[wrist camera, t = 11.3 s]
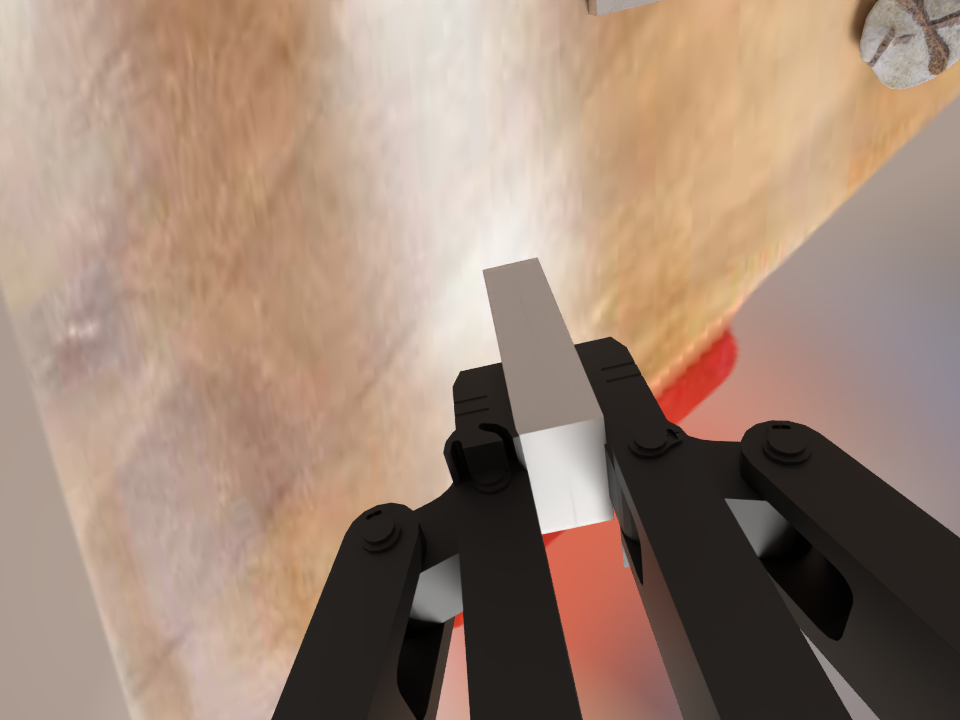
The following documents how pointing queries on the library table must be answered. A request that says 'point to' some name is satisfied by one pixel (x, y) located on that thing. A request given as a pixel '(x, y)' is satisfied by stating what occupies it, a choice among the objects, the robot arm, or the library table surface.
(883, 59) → the stone
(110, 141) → the library table surface
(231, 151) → the library table surface
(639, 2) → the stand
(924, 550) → the robot arm
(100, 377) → the library table surface
